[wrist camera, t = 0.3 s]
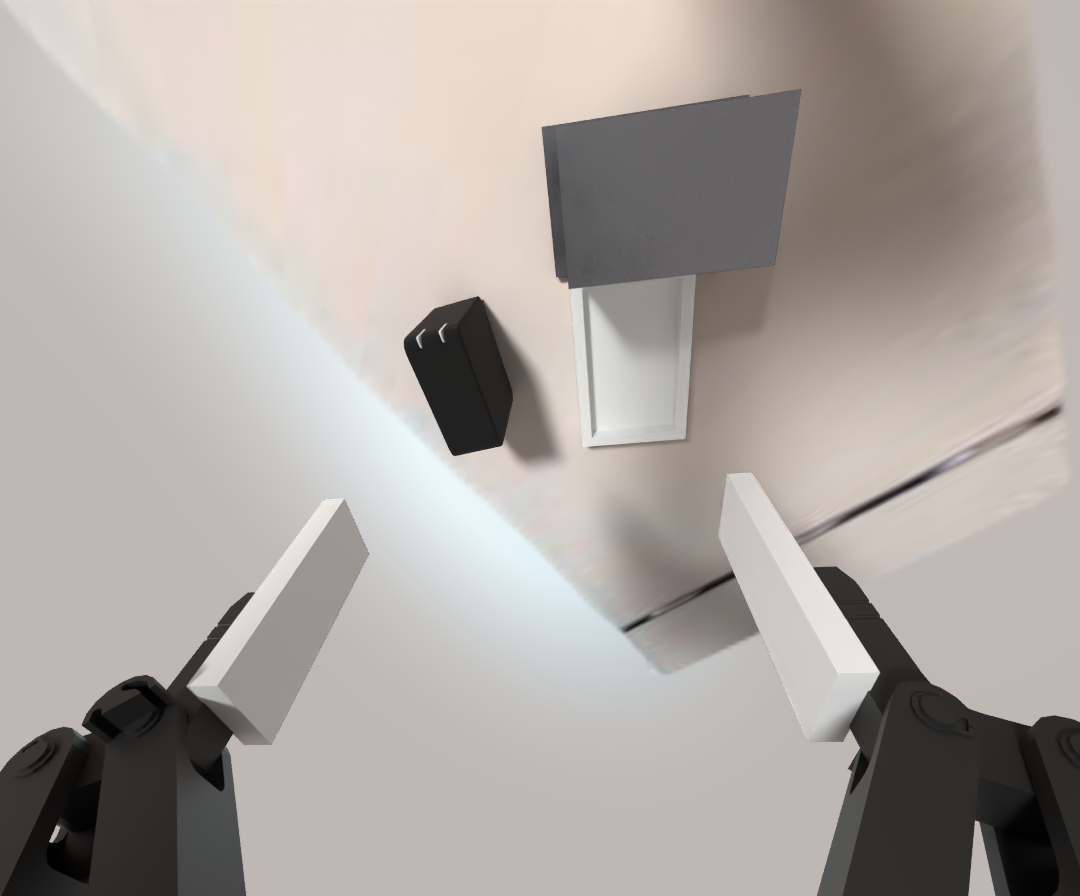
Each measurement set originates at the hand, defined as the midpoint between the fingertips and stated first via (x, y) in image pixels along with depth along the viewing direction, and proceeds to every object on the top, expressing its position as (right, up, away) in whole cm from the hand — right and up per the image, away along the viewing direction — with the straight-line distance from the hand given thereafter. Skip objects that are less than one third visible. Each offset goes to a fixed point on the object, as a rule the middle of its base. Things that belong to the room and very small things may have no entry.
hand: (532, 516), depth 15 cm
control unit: (+8, +22, +18) cm, 29 cm away
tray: (+9, +11, +25) cm, 28 cm away
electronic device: (-6, +11, +25) cm, 28 cm away
